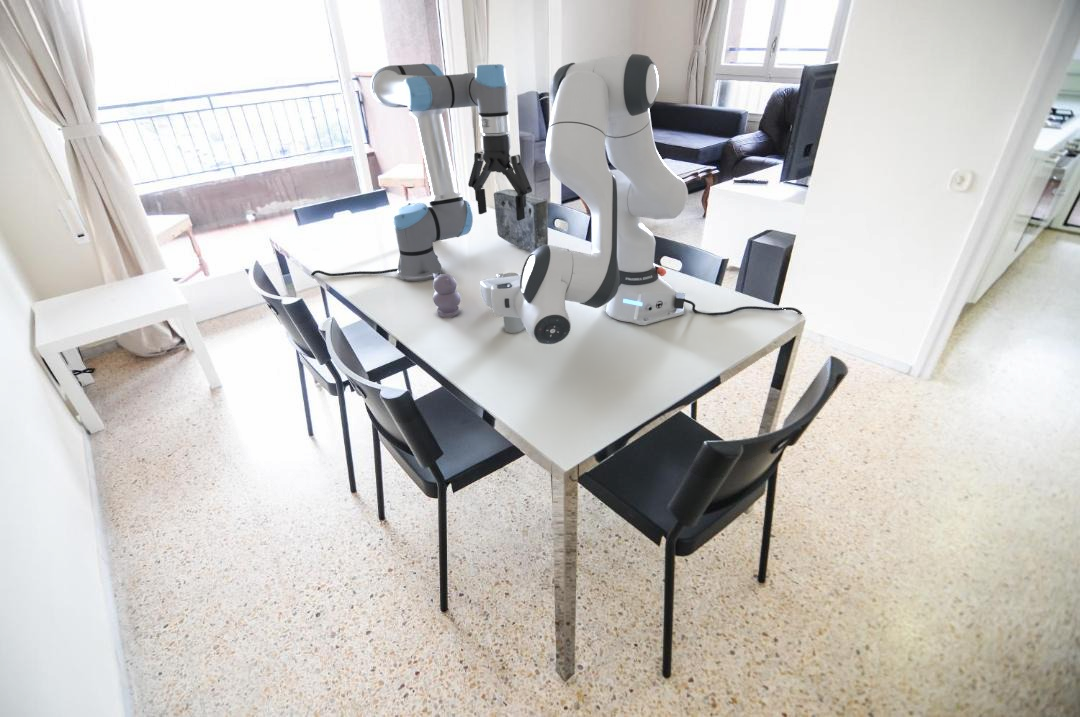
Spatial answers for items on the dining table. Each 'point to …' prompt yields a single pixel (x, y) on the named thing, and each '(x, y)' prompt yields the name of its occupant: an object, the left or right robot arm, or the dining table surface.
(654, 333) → the dining table surface
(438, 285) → the cat figurine
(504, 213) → the concrete block
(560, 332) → the right robot arm
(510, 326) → the grey cylinder
